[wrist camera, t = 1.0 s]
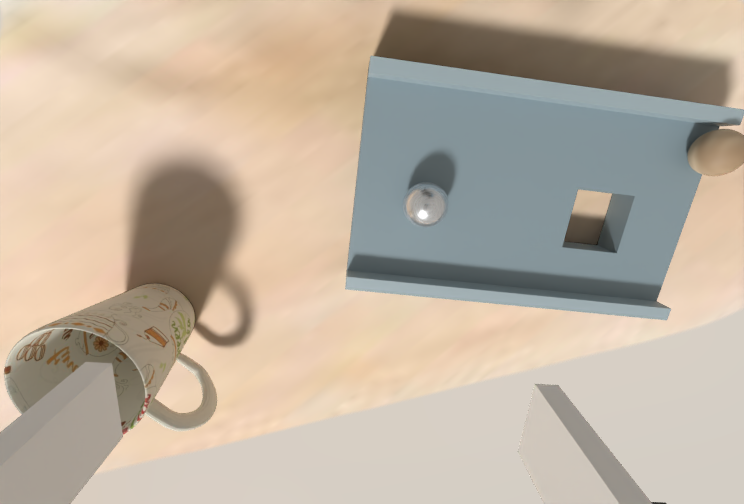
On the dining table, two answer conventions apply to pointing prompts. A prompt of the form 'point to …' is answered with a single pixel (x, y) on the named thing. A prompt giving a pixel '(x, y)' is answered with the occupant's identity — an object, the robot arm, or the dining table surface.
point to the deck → (521, 188)
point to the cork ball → (717, 152)
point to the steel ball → (425, 204)
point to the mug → (116, 355)
